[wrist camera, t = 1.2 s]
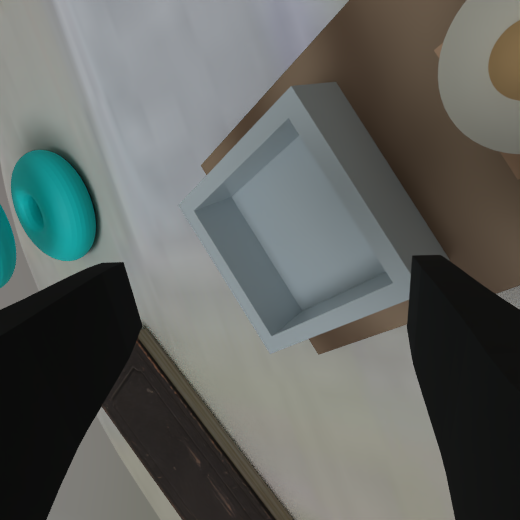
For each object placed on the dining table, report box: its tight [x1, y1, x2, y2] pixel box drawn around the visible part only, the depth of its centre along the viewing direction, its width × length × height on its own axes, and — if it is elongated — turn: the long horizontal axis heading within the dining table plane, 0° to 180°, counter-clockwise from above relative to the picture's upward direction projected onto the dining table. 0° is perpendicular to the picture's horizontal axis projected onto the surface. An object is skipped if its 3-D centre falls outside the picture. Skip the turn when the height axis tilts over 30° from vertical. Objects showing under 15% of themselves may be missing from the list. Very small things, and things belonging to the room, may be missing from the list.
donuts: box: [0, 150, 96, 288], centre depth 35 cm, size 10×10×10 cm
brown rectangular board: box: [201, 0, 520, 355], centre depth 18 cm, size 20×13×1 cm, turn 132°
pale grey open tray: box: [178, 82, 450, 354], centre depth 20 cm, size 9×9×4 cm
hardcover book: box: [102, 328, 293, 520], centre depth 40 cm, size 16×23×2 cm
